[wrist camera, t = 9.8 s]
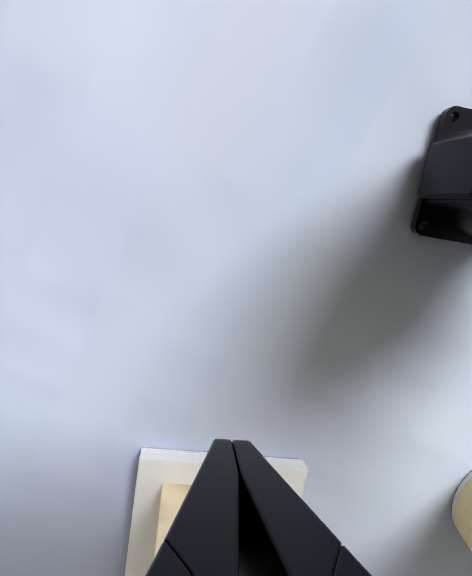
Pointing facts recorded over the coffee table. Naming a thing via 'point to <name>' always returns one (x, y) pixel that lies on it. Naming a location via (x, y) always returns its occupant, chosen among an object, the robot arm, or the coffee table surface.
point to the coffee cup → (463, 510)
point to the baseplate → (177, 470)
